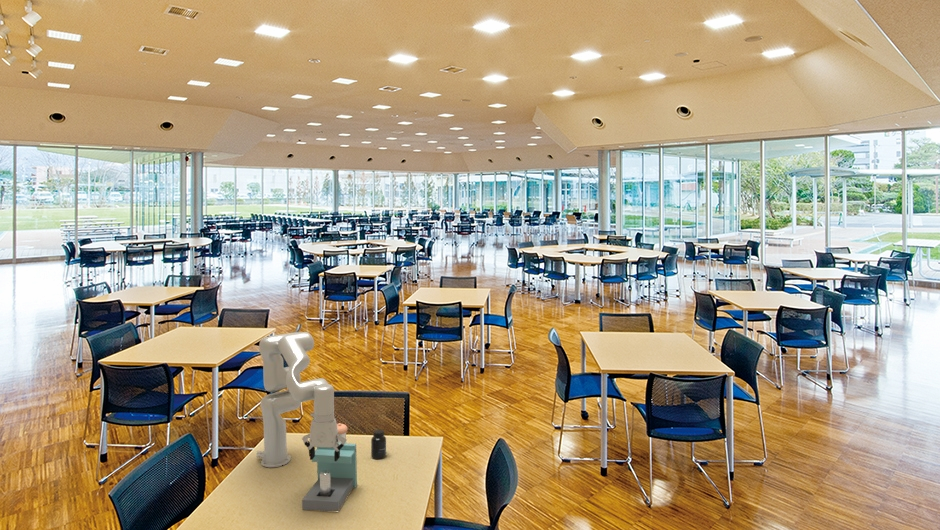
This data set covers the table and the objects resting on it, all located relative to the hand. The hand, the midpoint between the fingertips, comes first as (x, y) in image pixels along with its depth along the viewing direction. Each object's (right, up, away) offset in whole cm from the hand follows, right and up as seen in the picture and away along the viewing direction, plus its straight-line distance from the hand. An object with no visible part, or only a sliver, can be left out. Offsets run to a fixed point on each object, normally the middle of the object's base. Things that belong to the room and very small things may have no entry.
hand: (324, 459), depth 207 cm
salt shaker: (-2, -15, +33) cm, 36 cm away
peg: (0, -18, +1) cm, 18 cm away
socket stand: (+1, -17, +5) cm, 18 cm away
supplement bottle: (+14, -14, +41) cm, 46 cm away
